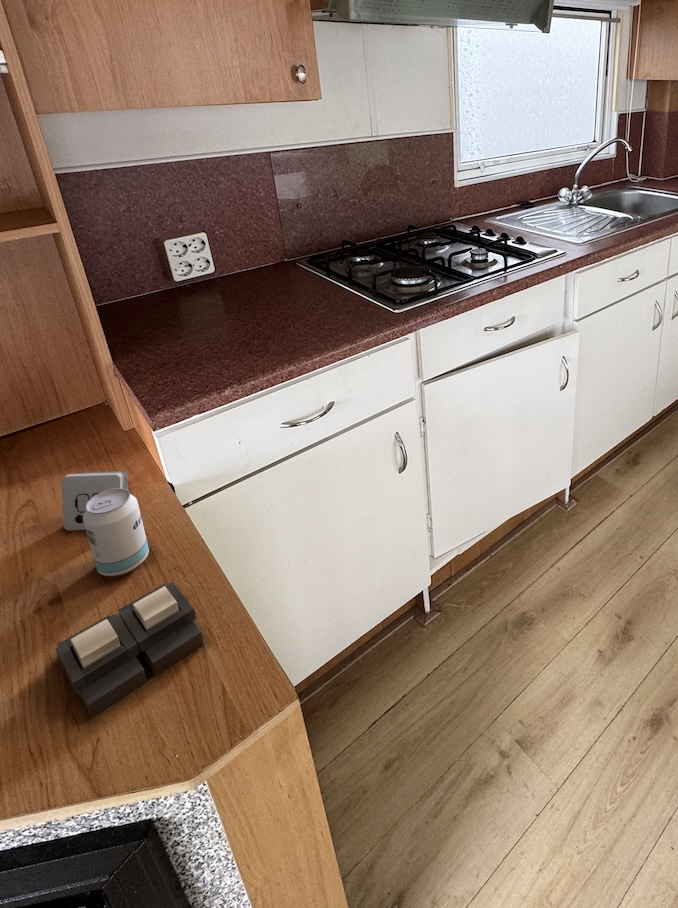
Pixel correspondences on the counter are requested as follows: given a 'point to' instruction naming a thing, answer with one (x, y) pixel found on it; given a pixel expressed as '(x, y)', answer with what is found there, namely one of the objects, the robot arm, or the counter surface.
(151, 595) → the e key
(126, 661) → the near key block
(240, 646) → the counter surface
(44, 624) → the counter surface
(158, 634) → the far key block
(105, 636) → the c key
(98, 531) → the beverage can
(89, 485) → the electrical switch
